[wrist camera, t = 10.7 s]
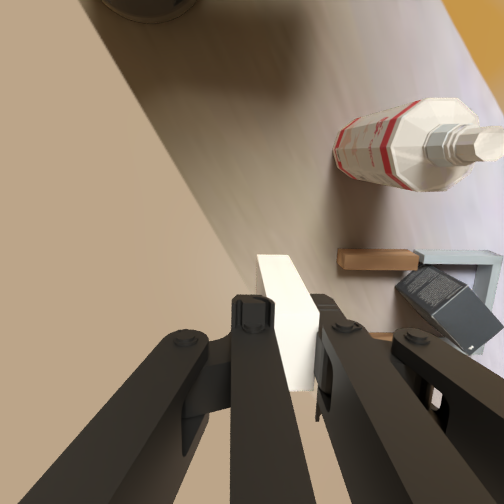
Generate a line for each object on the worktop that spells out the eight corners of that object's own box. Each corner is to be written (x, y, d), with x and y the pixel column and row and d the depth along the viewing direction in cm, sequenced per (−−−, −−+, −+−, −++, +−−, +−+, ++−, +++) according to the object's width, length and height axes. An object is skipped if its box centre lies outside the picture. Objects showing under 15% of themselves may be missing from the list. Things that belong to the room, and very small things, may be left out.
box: (454, 295, 54) (506, 328, 44) (424, 320, 55) (468, 358, 44) (423, 259, 52) (469, 284, 42) (392, 285, 53) (431, 316, 43)
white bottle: (395, 168, 49) (555, 182, 24) (342, 187, 49) (448, 219, 25) (382, 109, 47) (542, 60, 22) (326, 128, 47) (426, 101, 23)
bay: (414, 249, 52) (424, 255, 49) (488, 250, 52) (503, 256, 49) (400, 344, 56) (409, 354, 53) (469, 344, 56) (482, 354, 53)
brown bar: (337, 248, 51) (345, 255, 48) (407, 249, 52) (419, 256, 48) (329, 344, 55) (335, 356, 52) (393, 344, 55) (404, 356, 52)
